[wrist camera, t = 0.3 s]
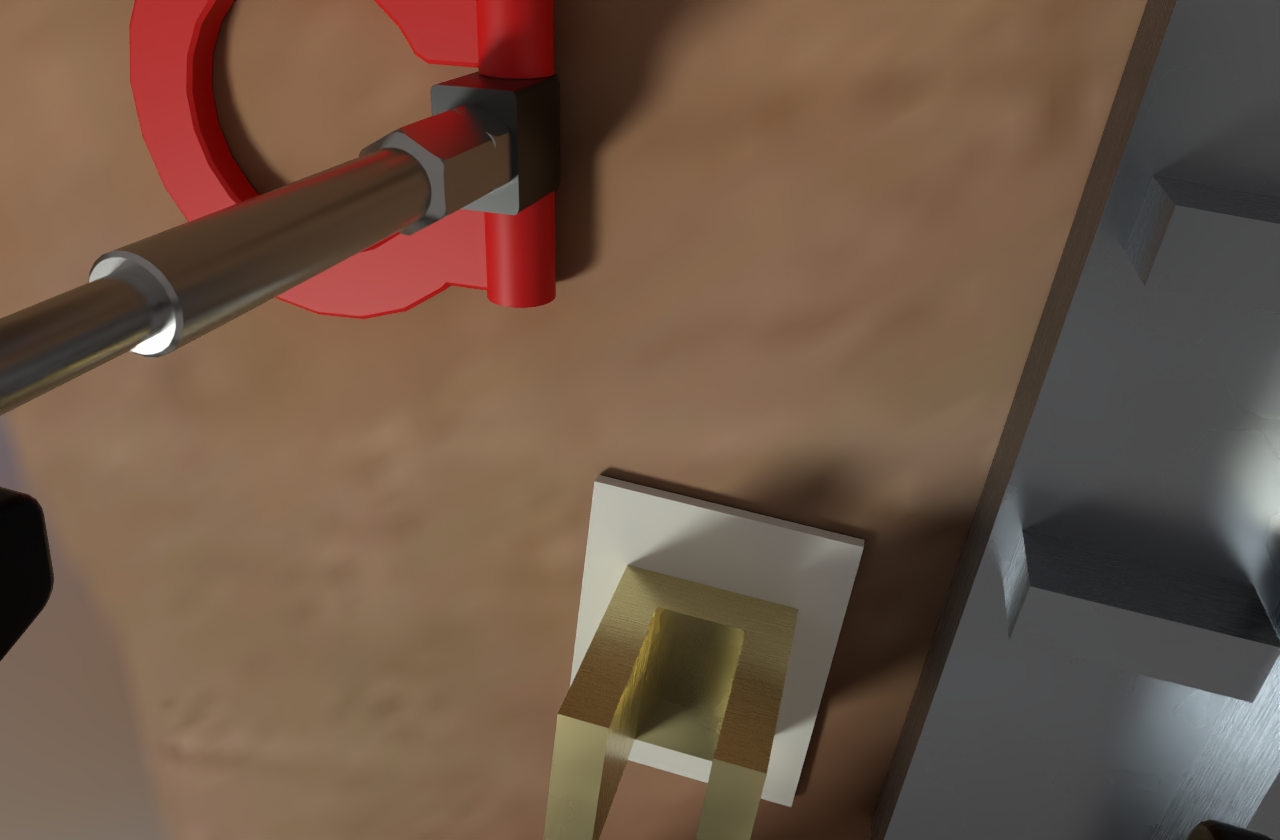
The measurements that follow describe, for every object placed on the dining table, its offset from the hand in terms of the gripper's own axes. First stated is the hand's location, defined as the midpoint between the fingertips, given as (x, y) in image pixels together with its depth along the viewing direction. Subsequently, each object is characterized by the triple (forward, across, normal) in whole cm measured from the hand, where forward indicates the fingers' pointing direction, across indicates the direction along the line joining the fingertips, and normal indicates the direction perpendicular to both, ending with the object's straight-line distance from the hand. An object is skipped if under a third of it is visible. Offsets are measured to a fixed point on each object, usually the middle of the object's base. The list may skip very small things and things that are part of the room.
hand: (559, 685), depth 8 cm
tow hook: (+14, +9, -1) cm, 16 cm away
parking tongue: (+14, 0, +10) cm, 17 cm away
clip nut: (+13, 0, +10) cm, 17 cm away
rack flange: (+14, -8, +4) cm, 16 cm away
